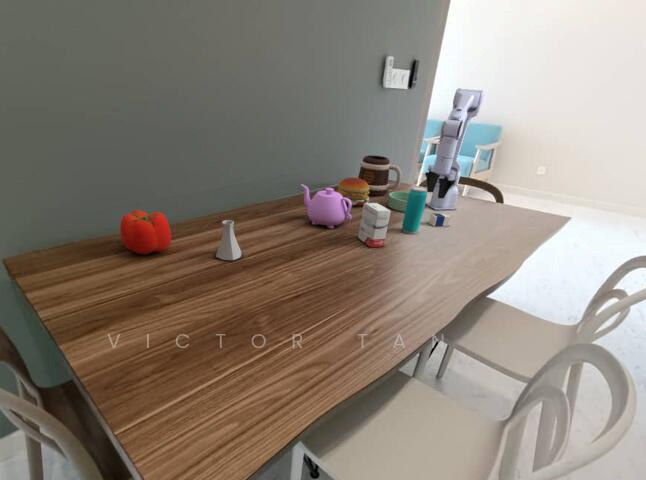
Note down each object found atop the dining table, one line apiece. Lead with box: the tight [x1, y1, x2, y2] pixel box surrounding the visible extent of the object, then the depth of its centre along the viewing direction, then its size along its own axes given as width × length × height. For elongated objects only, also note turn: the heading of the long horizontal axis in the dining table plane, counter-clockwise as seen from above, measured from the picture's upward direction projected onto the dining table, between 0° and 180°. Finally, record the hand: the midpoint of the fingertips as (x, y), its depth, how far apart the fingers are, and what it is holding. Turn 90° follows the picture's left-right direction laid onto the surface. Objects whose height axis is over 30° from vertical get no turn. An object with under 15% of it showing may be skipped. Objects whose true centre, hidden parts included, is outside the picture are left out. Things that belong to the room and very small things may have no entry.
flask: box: [215, 219, 242, 261], centre depth 109 cm, size 7×7×10 cm
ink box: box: [358, 202, 392, 248], centre depth 123 cm, size 8×5×12 cm, turn 20°
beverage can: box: [401, 185, 428, 235], centre depth 133 cm, size 6×6×15 cm
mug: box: [357, 155, 403, 197], centre depth 174 cm, size 20×15×15 cm
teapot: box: [300, 183, 353, 229], centre depth 137 cm, size 20×14×12 cm
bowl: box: [387, 191, 410, 213], centre depth 160 cm, size 14×14×4 cm
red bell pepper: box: [119, 210, 172, 256], centre depth 109 cm, size 14×13×10 cm
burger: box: [337, 177, 370, 206], centre depth 160 cm, size 13×14×10 cm
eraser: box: [428, 213, 451, 227], centre depth 144 cm, size 6×4×4 cm, turn 103°
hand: (435, 195), depth 146 cm, fingers open, 7 cm apart
